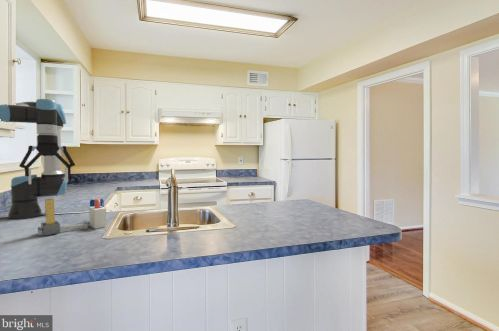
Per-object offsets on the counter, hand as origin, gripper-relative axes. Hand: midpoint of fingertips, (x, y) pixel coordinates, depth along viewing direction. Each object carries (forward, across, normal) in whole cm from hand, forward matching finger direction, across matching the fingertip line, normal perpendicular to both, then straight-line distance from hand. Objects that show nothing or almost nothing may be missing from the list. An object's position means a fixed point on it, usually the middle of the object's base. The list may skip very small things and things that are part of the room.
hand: (48, 182), depth 131 cm
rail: (+23, +5, 0) cm, 23 cm away
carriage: (+23, 0, 0) cm, 23 cm away
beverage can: (+23, +22, +11) cm, 34 cm away
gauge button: (+18, +20, 0) cm, 26 cm away
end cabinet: (+22, +20, 0) cm, 30 cm away
